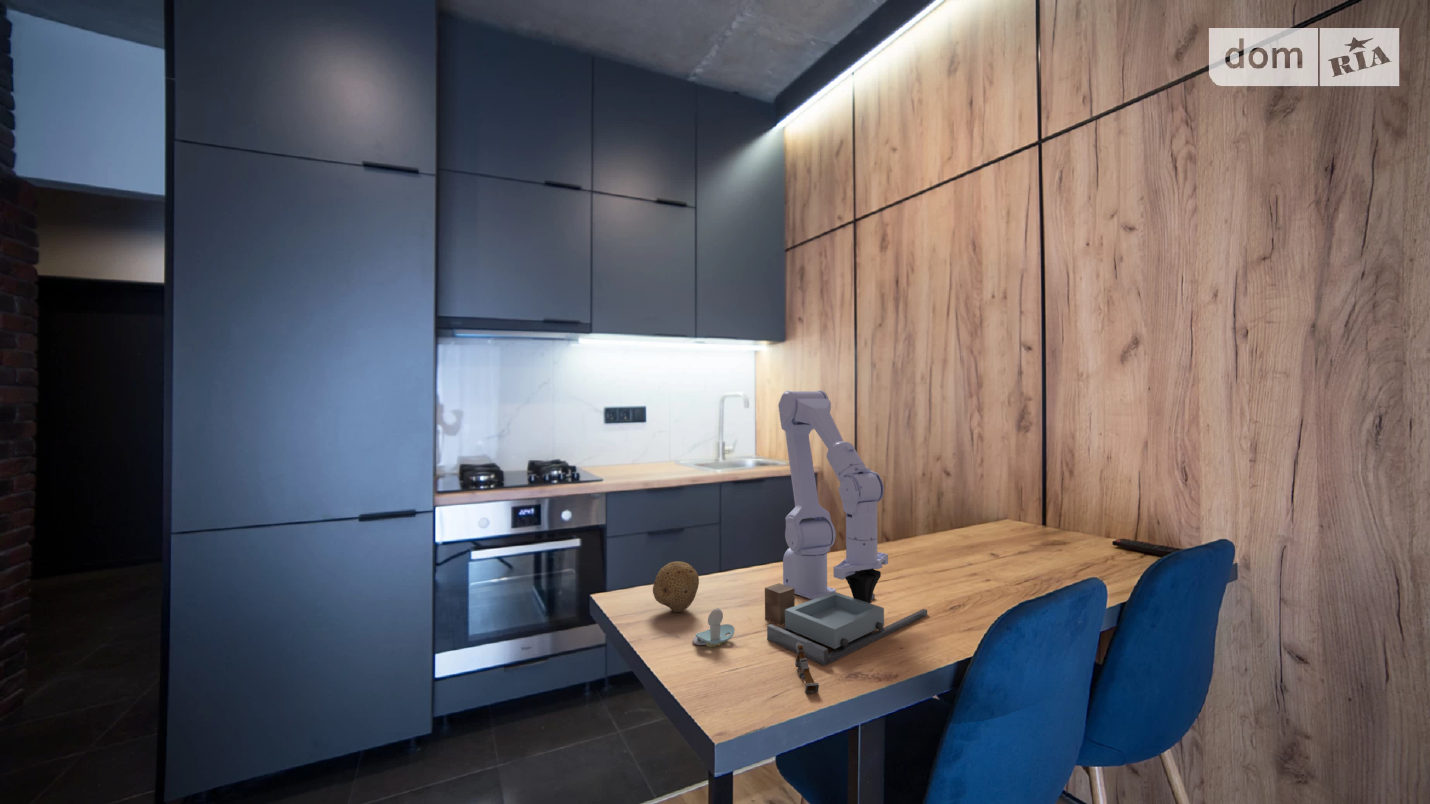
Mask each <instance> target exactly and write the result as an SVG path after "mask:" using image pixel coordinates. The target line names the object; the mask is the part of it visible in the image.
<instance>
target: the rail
mask: <svg viewBox="0 0 1430 804" xmlns="http://www.w3.org/2000/svg"><path fill="white" fill-rule="evenodd" d="M875 595H876V594H875V593H874V592H873V595H872V598H871V601H872V600H874V599H875V598H876V597H875ZM926 616H928V609H926V608H922V609H920V610H918V611H916V612H914V613H912V614H910V615H907V616H905V617H904V618H901V619H899V620H897V621H895V622H893V623H891V624H888V625H887V626H885V627H884V626H883V629H882V630H878V629H877V630H875V631H872V632H870V633H868V634H866V635H864V636H862V638H861V637H860V638H858V639H856V640H854V641H851V642H849V643H848V646H847V647H844V646H841V647H839V648H837V649H835V650H834V651H831V652H829V648H827V647H825V646H823V645H820V644H818V643H815V642H814V641H811V640H809V639H807V638H804V637H803V636H800V635H797V634H795V632H794V631H792V630H789V629H787V628H785V626H783V627H779V626H776V625H774V624H768V625H767V626H766V627H767V628H766V636H767V637H766V639H767V640H768V641H770V642H772V643H774V644H776V645H779V646H781V647H783V648H784V649H787V650H788V651H791V652H793V653H795V654H797V650H796V644H797V642H799V643H801V644H803V648H804V655H805V658H807V660H808V659H809V660H811V661H813V662H815V663H817V664H819V665H821V666H822V667H825V666H827V665H829V664H831V663H833V662H835V661H837V660H840V659H842V658H843V657H846V656H848V655H849V654H851V653H853V652H856V651H858V650H860V649H861V648H864V647H865V646H868V645H870V644H872V643H874V642H875V641H878V640H880V639H882V638H884V637H886V636H888V635H890V634H892V633H894V632H896V631H898V630H900V629H902V628H905V627H906V626H908V625H910V624H913V623H914V622H917V621H918V620H921V619H922V618H925V617H926ZM793 632H794V633H793Z"/></svg>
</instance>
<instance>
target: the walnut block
mask: <svg viewBox="0 0 1430 804" xmlns="http://www.w3.org/2000/svg"><path fill="white" fill-rule="evenodd" d="M795 595H796V594H795V592H794V588H792V587H789V586H786V585H783V583H775V584H772V585H770V586H766V587H764V619H765V620H766V621H769V620H770V621H769V622H772V623H773V622H774V623H773V624H775V625H778V624H779V625H778V626H783V625H785V609H788V608H791V607H794V606H796V605H795V599H796V597H795ZM782 624H783V625H782Z"/></svg>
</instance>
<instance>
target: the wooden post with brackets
mask: <svg viewBox="0 0 1430 804" xmlns="http://www.w3.org/2000/svg"><path fill="white" fill-rule="evenodd" d="M796 650H797V653H796V657H795V661H794V662H795V668H797V670H796V673H798V677H799V678H801V679H802V680H805V683H806V684H805V690H804V693H805V694H810V692H813V693H817V692H818V693H819V688H820V684H819V682H815V681H814V678H813V676H812V674H811V671H810V667H809V664H808V663H809V662H808V658H806V657H805V655H804V648H803V644H801V643H799V642H797V644H796ZM806 692H807V693H806Z"/></svg>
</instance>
